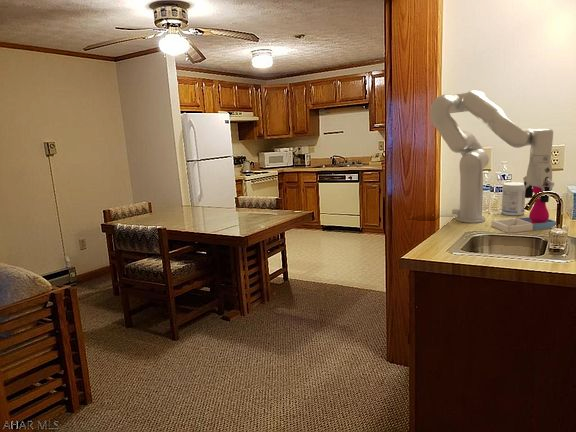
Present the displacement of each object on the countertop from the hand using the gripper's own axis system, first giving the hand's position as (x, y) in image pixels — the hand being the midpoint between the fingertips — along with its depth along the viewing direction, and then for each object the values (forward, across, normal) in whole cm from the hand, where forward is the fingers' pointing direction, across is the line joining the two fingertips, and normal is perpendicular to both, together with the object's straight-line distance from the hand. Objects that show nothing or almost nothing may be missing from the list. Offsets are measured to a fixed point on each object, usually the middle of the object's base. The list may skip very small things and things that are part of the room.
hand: (536, 200), depth 178 cm
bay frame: (+11, 0, +5) cm, 12 cm away
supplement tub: (+12, +22, -5) cm, 26 cm away
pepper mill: (+11, -1, -1) cm, 11 cm away
